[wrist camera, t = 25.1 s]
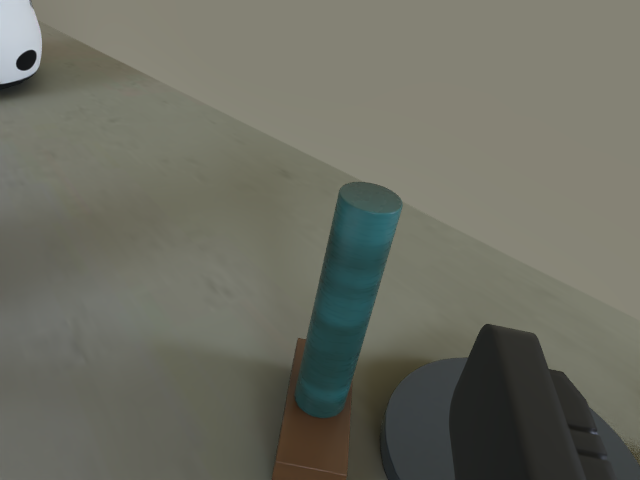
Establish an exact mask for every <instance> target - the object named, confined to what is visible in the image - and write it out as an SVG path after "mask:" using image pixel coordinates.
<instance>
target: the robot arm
mask: <svg viewBox="0 0 640 480" xmlns="http://www.w3.org/2000/svg"><path fill="white" fill-rule="evenodd" d="M597 430H598V429H597V427H596V424H595V422H594V419H593V417H592V414H591V411H590V409H589V406H588V404H587V401H586V399H585V398H584V397H583V396H582V394H581V393H580V392H579V391H578V390H577V388H576V387H575V386H574V385H573V384H572V382H571V381H570V380H569V379H568V378H567V376H566V375H565V374H564V373H563V372H560V371H556V370H551V369H548V366H547V363H546V360H545V357H544V354H543V352H542V349H541V346H540V343H539V340H538V338H537V336H536V335H535V334H534V333H530V332H525V331H520V330H515V329H510V328H506V327H501V326H496V325H491V324H486V325H484V326H483V327H482V329H481V330H480V332H479V334H478V336H477V339H476V341H475V343H474V346H473V348H472V350H471V353H470V355H469V357H468V360H467V362H466V364H465V366H464V369H463V371H462V373H461V376H460V378H459V380H458V383H457V385H456V387H455V390H454V393H453V396H452V400H451V405H450V412H449V432H450V440H451V448H452V457H453V465H454V473H455V480H617V477H616V475H615V472H614V470H613V467H612V465H611V462H610V461H607V452H606V450H605V447H604V444H603V442H602V439H601V437H600V435H597Z"/></svg>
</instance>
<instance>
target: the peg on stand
mask: <svg viewBox="0 0 640 480" xmlns="http://www.w3.org/2000/svg"><path fill="white" fill-rule="evenodd" d="M402 206H403V204H402V200H401V199H400V197H399V196H398V195H397V194H395V193H394V192H392V191H391V190H389V189H387V188H385V187H383V186H380V185H376V184H372V183H366V182H352V183H348V184H345V185H343V186H342V187H341V188H340V190H339V194H338V199H337V203H336V208H335V212H334V217H333V221H332V226H331V230H330V235H329V239H328V244H327V248H326V253H325V257H324V262H323V266H322V271H321V275H320V280H319V284H318V289H317V293H316V298H315V302H314V307H313V311H312V316H311V320H310V325H309V329H308V334H307V338H306V339H301V338H298V340H297V344H296V349H295V354H294V359H293V365H292V370H291V375H290V381H289V386H288V392H287V397H286V403H285V408H284V414H283V419H282V425H281V430H280V435H279V441H278V446H277V452H276V457H275V463H274V468H273V474H272V480H346V477H347V469H348V451H349V433H350V415H351V397H352V379H353V375H354V372H355V368H356V365H357V361H358V358H359V354H360V351H361V347H362V344H363V341H364V337H365V334H366V330H367V327H368V323H369V320H370V316H371V313H372V310H373V306H374V303H375V299H376V296H377V292H378V289H379V285H380V282H381V279H382V275H383V272H384V268H385V265H386V261H387V258H388V254H389V251H390V248H391V244H392V241H393V237H394V234H395V230H396V227H397V224H398V220H399V217H400V213H401V210H402Z"/></svg>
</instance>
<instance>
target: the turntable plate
mask: <svg viewBox="0 0 640 480" xmlns="http://www.w3.org/2000/svg"><path fill="white" fill-rule="evenodd" d="M467 360H468V358H450V359H443V360H439V361H435V362H432V363H429V364H426V365H424V366H422V367H420V368H418V369H416V370H415V371H413V372H412V373H410V374H409V375H408V376H406V377H405V378H404V379H403V380H402V381H401V382H400V383H399V385H398V386H397V387H396V389H395V390H394V392H393V394H392V396H391V398H390V400H389V402H388V405H387V408H386V411H385V414H384V417H383V421H382V425H381V433H380V447H381V456H382V461H383V465H384V470H385V473H386V475H387V478H388V480H455V473H454V465H453V457H452V448H451V440H450V432H449V412H450V405H451V400H452V396H453V393H454V390H455V387H456V385H457V383H458V380H459V378H460V376H461V373H462V371H463V369H464V366H465V364H466V362H467ZM589 409H590V411H591V414H592V417H593V419H594V422H595V424H596V427H597V429H598V430H597V435H600V437H601V439H602V442H603V444H604V447H605V450H606V452H607V461H610V462H611V465H612V467H613V470H614V472H615V475H616V477H617V480H640V466H639V464H638V462H637V461H636V459H635V458H634V456H633V455H632V453H631V451H630V450H629V449H628V447H627V446H626V445H625V443H624V442H623V441H622V440H621V438H620V437H619V436H618V435H617V434H616V433H615V431H614V430H613V429H612V428H611V427H610V426H609V425H608V424H607V423H606V422H605V421H604V420H603V419H602V418H601V417H600V416H599V415H598V414H596V413H595V412H594V411H593V410H592V409H591V408H589Z"/></svg>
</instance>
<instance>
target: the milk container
mask: <svg viewBox="0 0 640 480" xmlns="http://www.w3.org/2000/svg"><path fill="white" fill-rule="evenodd" d="M41 52H42V37H41V31H40V27H39V23H38V20H37V17H36V15H35V12H34V9H33V6H32V2H31V0H0V89H3V88H7V87H10V86H13V85H17V84H20V83H22V82H24V81H25V80H27V79H28V78H30V77H31V76H33V75H34V74H35V73H36V71H37V69H38V67H39V65H40V60H41Z"/></svg>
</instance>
